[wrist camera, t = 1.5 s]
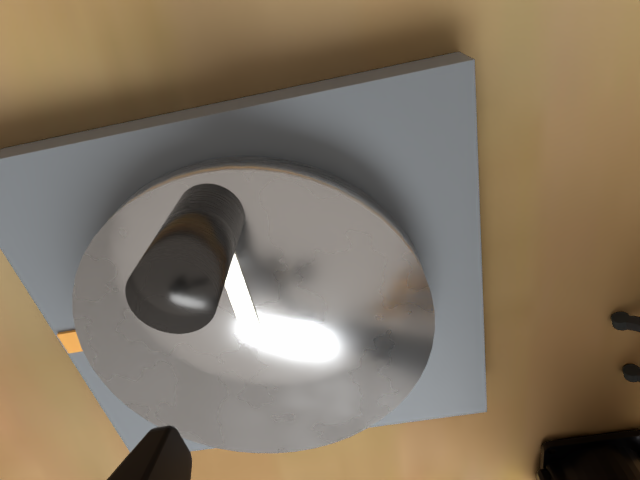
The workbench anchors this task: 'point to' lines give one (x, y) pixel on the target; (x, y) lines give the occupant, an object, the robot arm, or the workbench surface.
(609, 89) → the workbench surface
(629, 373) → the robot dog
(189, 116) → the stand plate
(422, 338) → the dial
